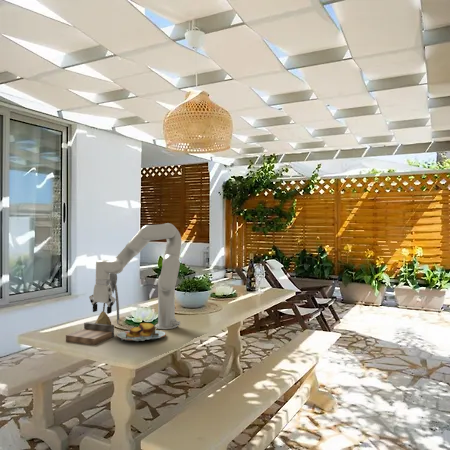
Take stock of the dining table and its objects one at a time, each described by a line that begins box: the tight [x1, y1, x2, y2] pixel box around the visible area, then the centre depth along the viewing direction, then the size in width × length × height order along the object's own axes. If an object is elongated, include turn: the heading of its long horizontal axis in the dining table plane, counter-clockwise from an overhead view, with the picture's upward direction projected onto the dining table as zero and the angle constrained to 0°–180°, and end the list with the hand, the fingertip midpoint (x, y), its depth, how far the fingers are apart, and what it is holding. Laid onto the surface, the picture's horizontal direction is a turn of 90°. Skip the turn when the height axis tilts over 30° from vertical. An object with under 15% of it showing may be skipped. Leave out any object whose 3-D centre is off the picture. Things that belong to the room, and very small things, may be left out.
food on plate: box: [115, 322, 167, 342], centre depth 225 cm, size 25×25×7 cm
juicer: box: [102, 273, 120, 325], centre depth 261 cm, size 10×11×30 cm
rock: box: [94, 310, 113, 325], centre depth 241 cm, size 11×9×10 cm
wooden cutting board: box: [65, 321, 115, 346], centre depth 223 cm, size 18×16×6 cm
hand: (102, 312), depth 241 cm, fingers open, 9 cm apart
